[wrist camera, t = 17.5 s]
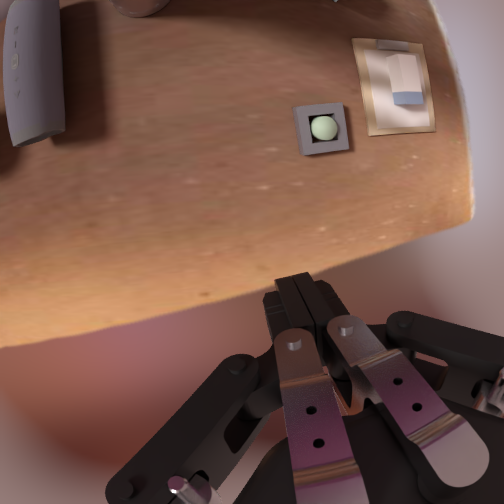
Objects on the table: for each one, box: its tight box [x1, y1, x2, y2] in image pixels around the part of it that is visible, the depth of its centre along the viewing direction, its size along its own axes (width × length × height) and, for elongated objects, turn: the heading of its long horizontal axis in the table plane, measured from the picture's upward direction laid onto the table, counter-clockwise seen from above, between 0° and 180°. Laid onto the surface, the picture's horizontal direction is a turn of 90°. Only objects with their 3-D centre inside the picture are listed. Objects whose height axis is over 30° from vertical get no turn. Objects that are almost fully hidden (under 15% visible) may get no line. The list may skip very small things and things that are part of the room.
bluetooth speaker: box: [3, 0, 65, 147], centre depth 27 cm, size 23×9×10 cm, turn 7°
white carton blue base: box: [386, 54, 424, 105], centre depth 36 cm, size 8×4×4 cm, turn 11°
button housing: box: [292, 102, 349, 155], centre depth 40 cm, size 7×7×2 cm
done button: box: [309, 116, 337, 140], centre depth 39 cm, size 3×3×3 cm
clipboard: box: [351, 38, 436, 136], centre depth 38 cm, size 16×14×1 cm
